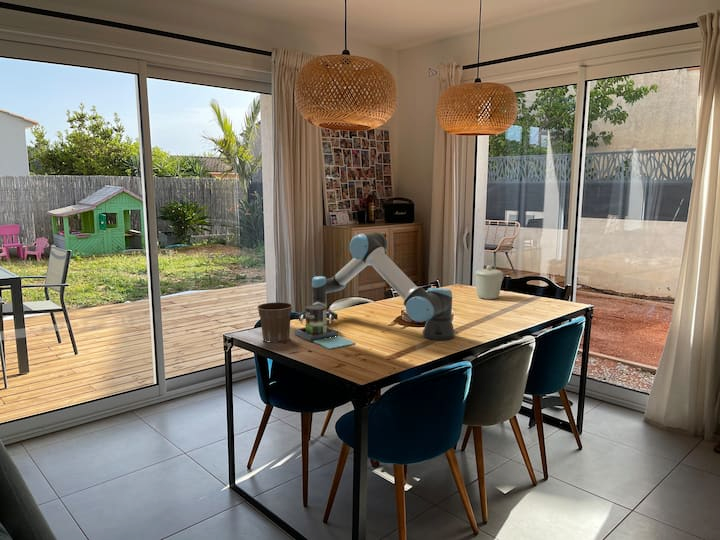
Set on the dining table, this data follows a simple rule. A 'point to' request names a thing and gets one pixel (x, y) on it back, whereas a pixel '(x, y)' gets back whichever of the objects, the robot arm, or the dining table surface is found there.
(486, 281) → the canister
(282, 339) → the plant pot
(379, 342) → the dining table surface
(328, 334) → the socket frame
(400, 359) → the dining table surface
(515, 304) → the dining table surface
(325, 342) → the mat
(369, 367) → the dining table surface
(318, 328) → the coffee can
